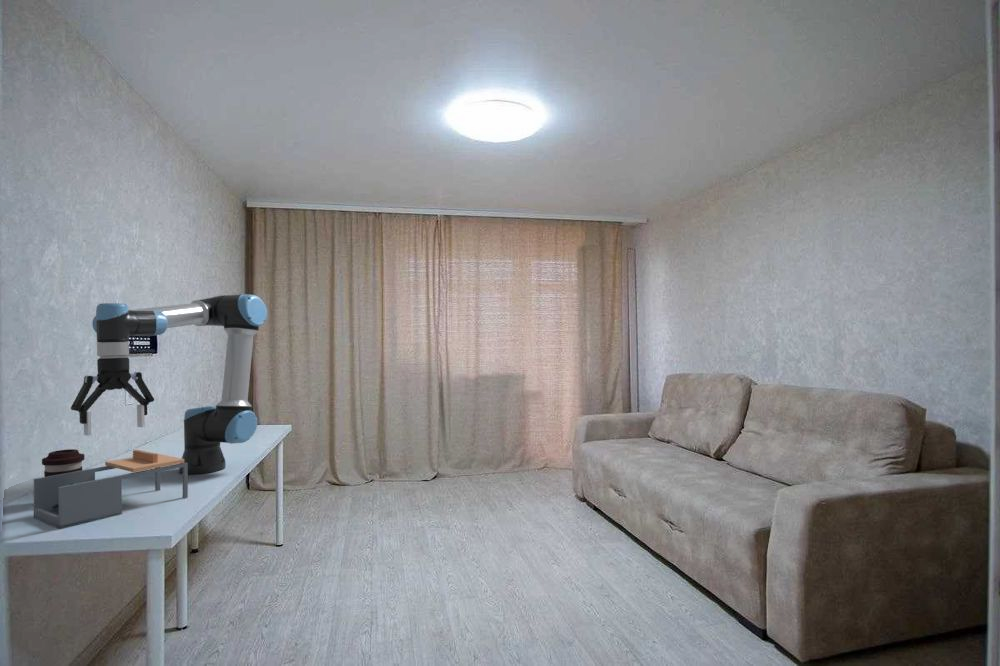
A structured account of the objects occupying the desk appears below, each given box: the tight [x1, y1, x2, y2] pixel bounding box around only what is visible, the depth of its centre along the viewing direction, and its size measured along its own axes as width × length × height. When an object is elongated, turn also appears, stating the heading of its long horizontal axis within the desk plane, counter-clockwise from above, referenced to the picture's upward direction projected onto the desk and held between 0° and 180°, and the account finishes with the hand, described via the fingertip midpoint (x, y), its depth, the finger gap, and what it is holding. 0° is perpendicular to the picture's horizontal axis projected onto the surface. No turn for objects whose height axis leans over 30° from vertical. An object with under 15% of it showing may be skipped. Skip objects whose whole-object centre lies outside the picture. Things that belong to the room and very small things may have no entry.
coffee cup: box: [41, 448, 85, 477], centre depth 163 cm, size 10×10×15 cm
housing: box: [33, 463, 189, 530], centre depth 158 cm, size 32×17×10 cm, turn 148°
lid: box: [104, 449, 184, 473], centre depth 165 cm, size 14×17×4 cm
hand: (115, 431), depth 158 cm, fingers open, 13 cm apart
